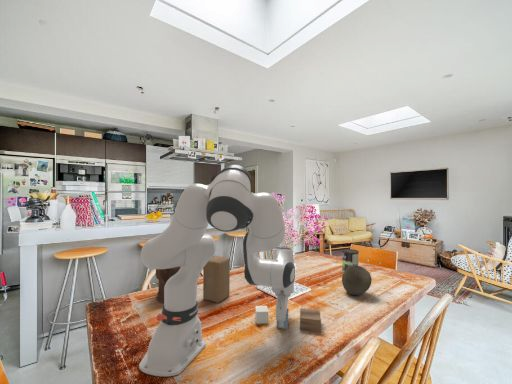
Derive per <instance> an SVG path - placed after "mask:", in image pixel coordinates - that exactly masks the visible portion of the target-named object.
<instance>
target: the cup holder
mask: <svg viewBox="0 0 512 384" xmlns="http://www.w3.org/2000/svg"><path fill="white" fill-rule="evenodd" d="M180 268H181V266H180V267H174V268H168V269H155V278H156V279H157V280H158V291H157V295H156V296H155V301H156V302H157V303H159V304H161V305H164V287H165V284H166V282H167V281H168V279H169V278H170V277H172V276H173V275H175V274H176V273H177V272H178V271H179V269H180Z"/></svg>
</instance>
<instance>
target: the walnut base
mask: <svg viewBox="0 0 512 384" xmlns="http://www.w3.org/2000/svg"><path fill="white" fill-rule="evenodd" d="M321 330H322V317H321V311H320V309H310V308H302V307H300V309H299V331H304V332H313V333H322V331H321Z"/></svg>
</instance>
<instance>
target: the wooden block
mask: <svg viewBox="0 0 512 384" xmlns="http://www.w3.org/2000/svg"><path fill="white" fill-rule="evenodd" d="M230 263H231V261H230V257H225V256H220V255H219V256H218V255H214V256H213V258H212V259H211V260H209V261H208V262H207V264H206V265H205V266H204V268H203V269H202V271H203V272H202V273H203V274H202V275H203V279H202V280H203V281H202V283H203V286H202V287H203V288H202V291H203V293H202V294H203V295H202V296H203V297H202V298H203V300H206V301H210V302H214V303H217V304H218V303H221V302H222V301H224V300H225V299H226V298H228V297H229V296H230V285H231V284H230V278H231V277H230V273H231V272H230V269H231V268H230V267H231V264H230Z"/></svg>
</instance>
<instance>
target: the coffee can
mask: <svg viewBox="0 0 512 384" xmlns="http://www.w3.org/2000/svg"><path fill="white" fill-rule="evenodd" d="M359 254H360V251H359V250H357V249H353V248H343V249H342V269H341V271H342V272H343V273H344V271H345V270H346V269H347V268H348V267H349V266H353V265H358V266H359V258H360V257H359Z"/></svg>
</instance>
